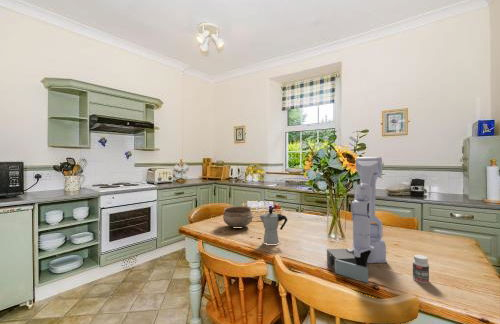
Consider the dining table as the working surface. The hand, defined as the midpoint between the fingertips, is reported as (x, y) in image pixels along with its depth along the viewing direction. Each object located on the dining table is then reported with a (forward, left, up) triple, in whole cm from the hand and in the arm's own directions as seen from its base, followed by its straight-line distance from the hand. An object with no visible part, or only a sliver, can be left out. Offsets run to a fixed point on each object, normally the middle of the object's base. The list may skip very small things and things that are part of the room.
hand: (361, 270), depth 89 cm
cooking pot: (+45, -71, -3) cm, 84 cm away
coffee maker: (+27, -39, -3) cm, 47 cm away
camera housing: (+2, -9, -2) cm, 10 cm away
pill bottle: (-19, +4, -3) cm, 20 cm away
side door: (+4, 0, -2) cm, 5 cm away
